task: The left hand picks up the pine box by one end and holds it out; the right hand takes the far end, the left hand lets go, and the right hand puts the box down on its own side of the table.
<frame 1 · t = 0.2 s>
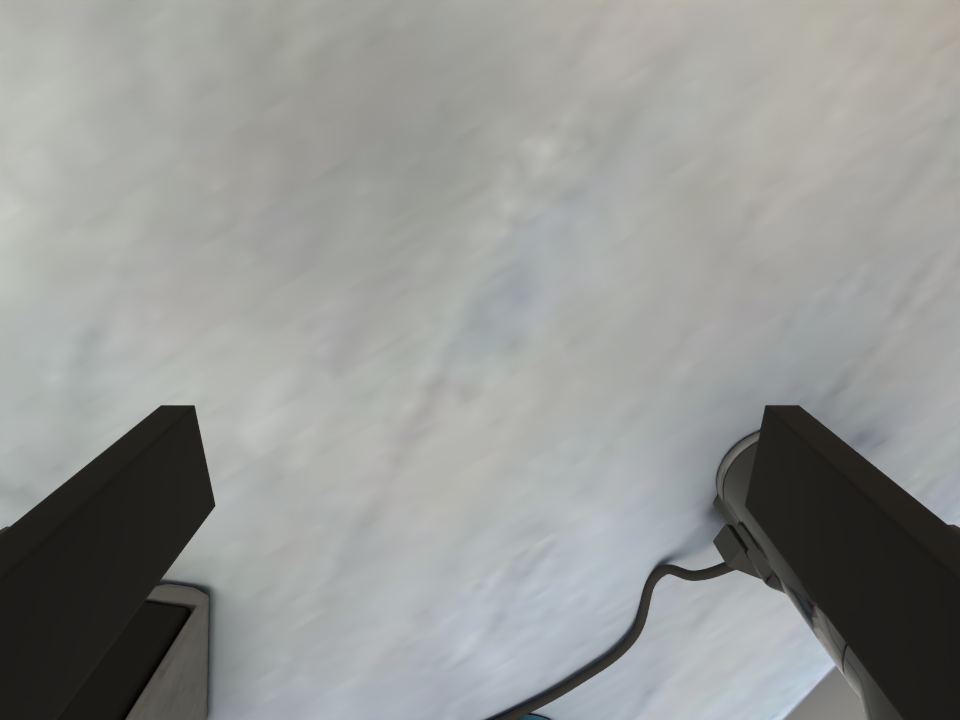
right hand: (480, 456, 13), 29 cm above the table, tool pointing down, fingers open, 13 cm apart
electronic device: (40, 643, 53), on the table
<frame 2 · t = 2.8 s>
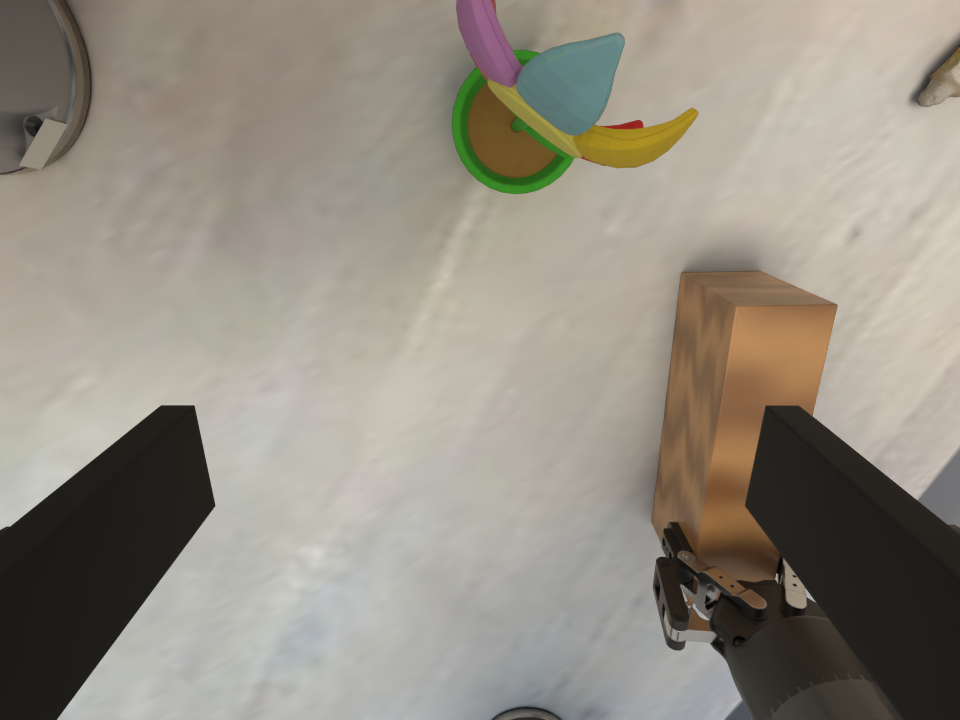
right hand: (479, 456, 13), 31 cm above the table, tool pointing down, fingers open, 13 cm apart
left hand: (713, 530, 45), fingers closed on box, 6 cm apart
potted flower: (508, 126, 39), on the table
box: (701, 408, 47), on the table, touching left hand
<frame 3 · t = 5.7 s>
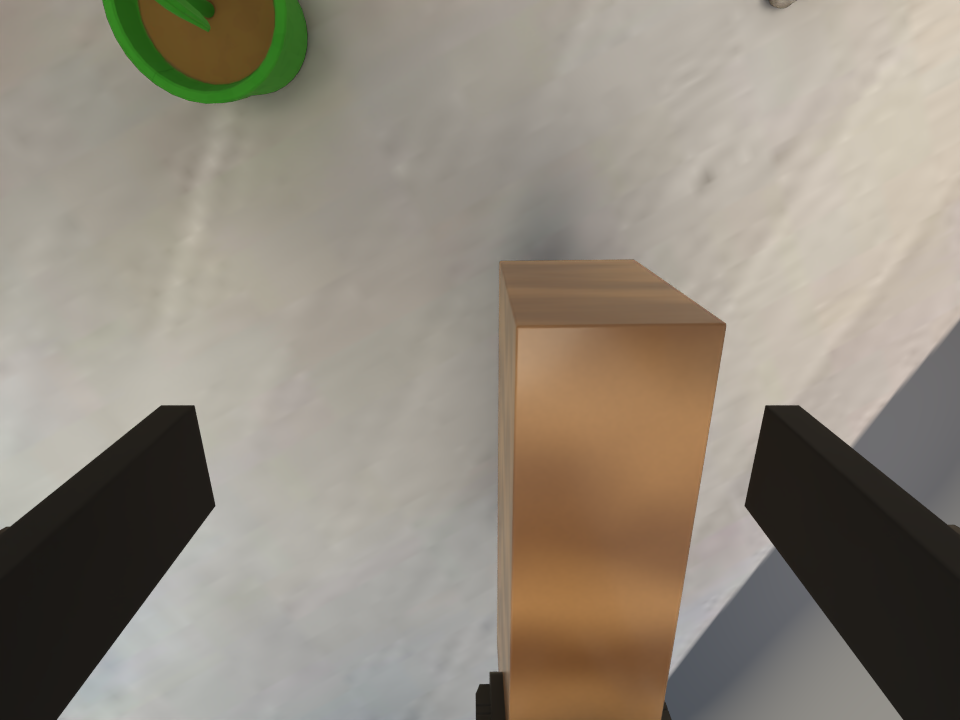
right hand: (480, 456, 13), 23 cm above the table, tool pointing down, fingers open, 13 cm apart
potted flower: (247, 28, 30), on the table
box: (555, 478, 29), point 10 cm above the table, touching left hand
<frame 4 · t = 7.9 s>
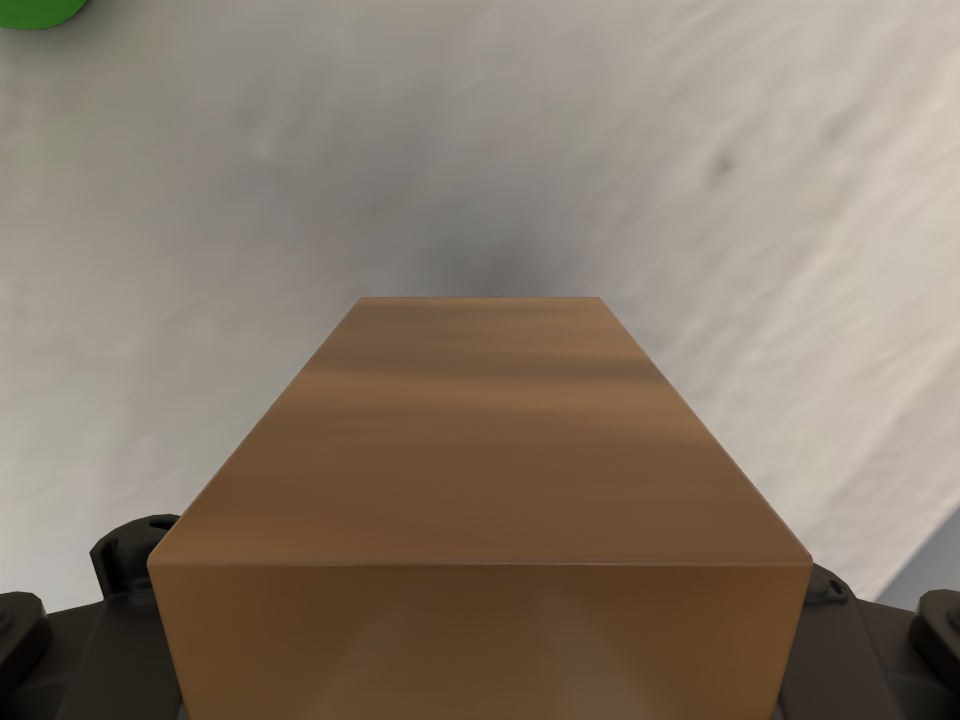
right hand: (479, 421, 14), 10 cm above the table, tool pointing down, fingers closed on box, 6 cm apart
box: (480, 639, 18), point 10 cm above the table, touching right hand, left hand
when the left hand's fingers open (15 cm above the table, at t = 8.9 s): box stays where it is, held by the right hand.
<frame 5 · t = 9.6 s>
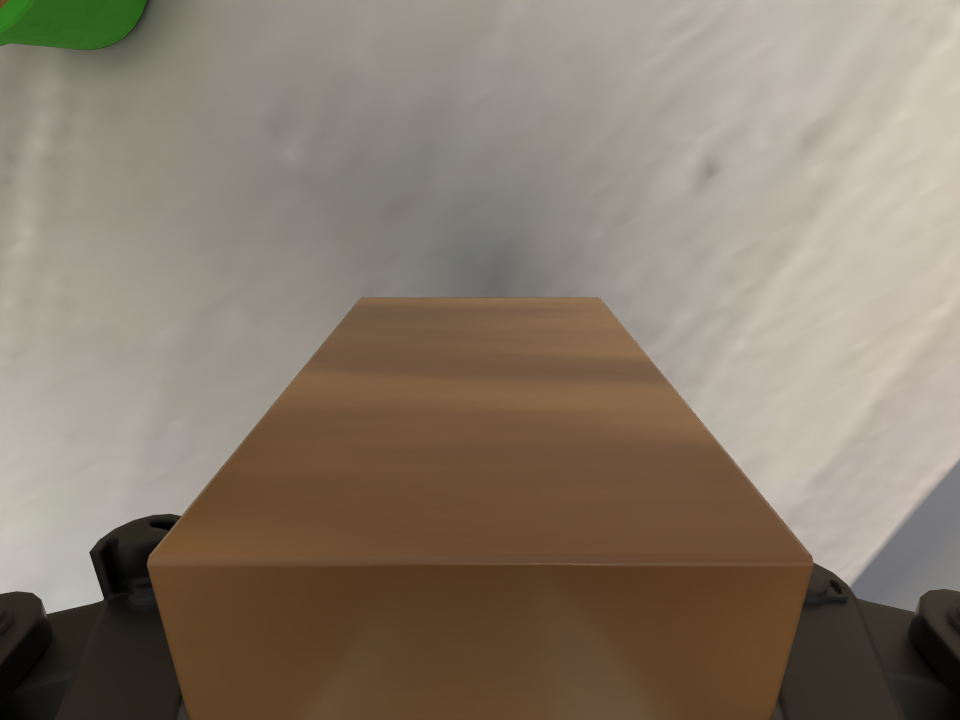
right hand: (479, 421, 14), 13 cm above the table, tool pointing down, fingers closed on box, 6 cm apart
box: (480, 639, 18), point 12 cm above the table, touching right hand
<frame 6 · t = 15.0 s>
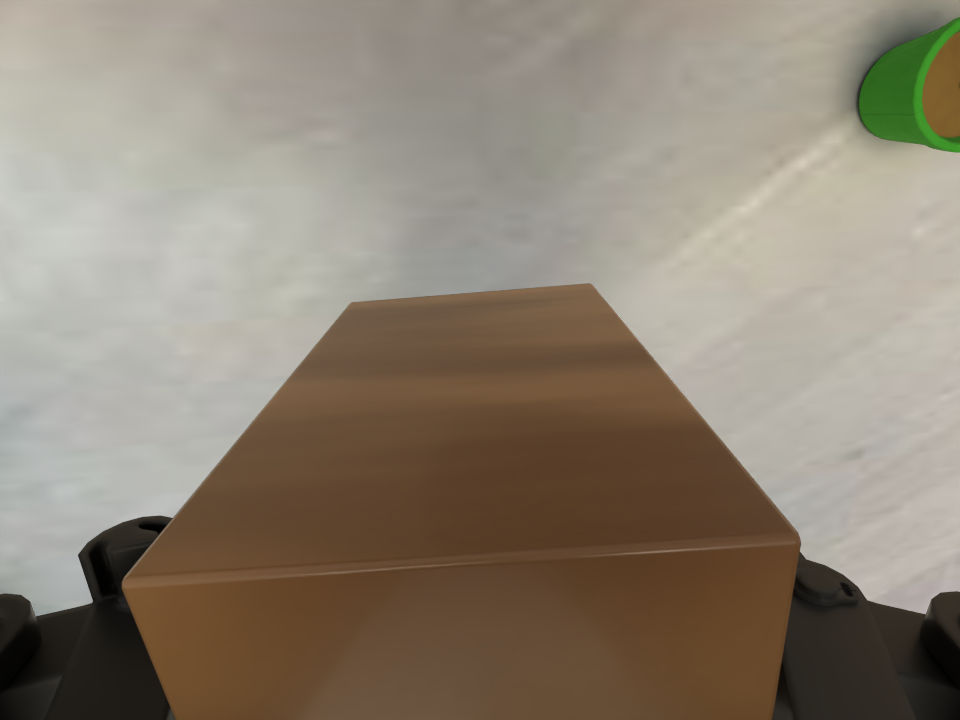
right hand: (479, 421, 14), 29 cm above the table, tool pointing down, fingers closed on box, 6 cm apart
potted flower: (898, 89, 38), on the table
box: (501, 635, 18), point 29 cm above the table, touching right hand
when the right hand's fingers open (2 cm above the table, at t = 22.1 s): box drops 1 cm, on the table.
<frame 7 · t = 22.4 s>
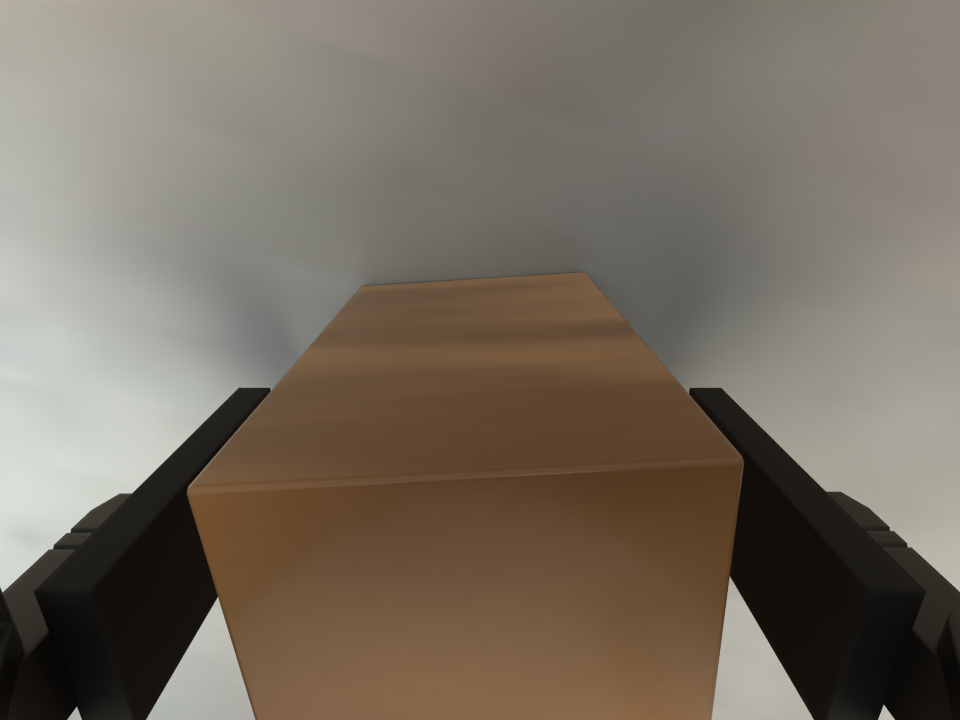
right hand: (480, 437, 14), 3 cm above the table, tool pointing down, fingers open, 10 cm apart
box: (495, 606, 19), on the table
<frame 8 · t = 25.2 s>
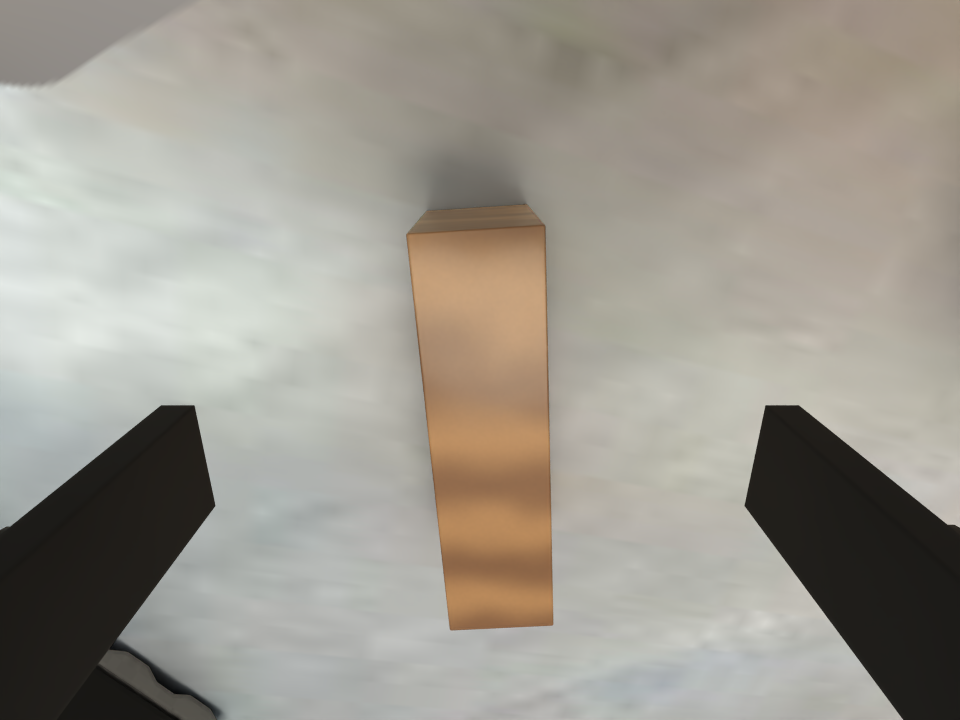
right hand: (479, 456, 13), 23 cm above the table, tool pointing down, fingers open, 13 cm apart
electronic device: (1, 665, 47), on the table
box: (487, 383, 38), on the table
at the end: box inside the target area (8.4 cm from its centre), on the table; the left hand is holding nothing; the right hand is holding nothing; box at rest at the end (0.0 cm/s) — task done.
